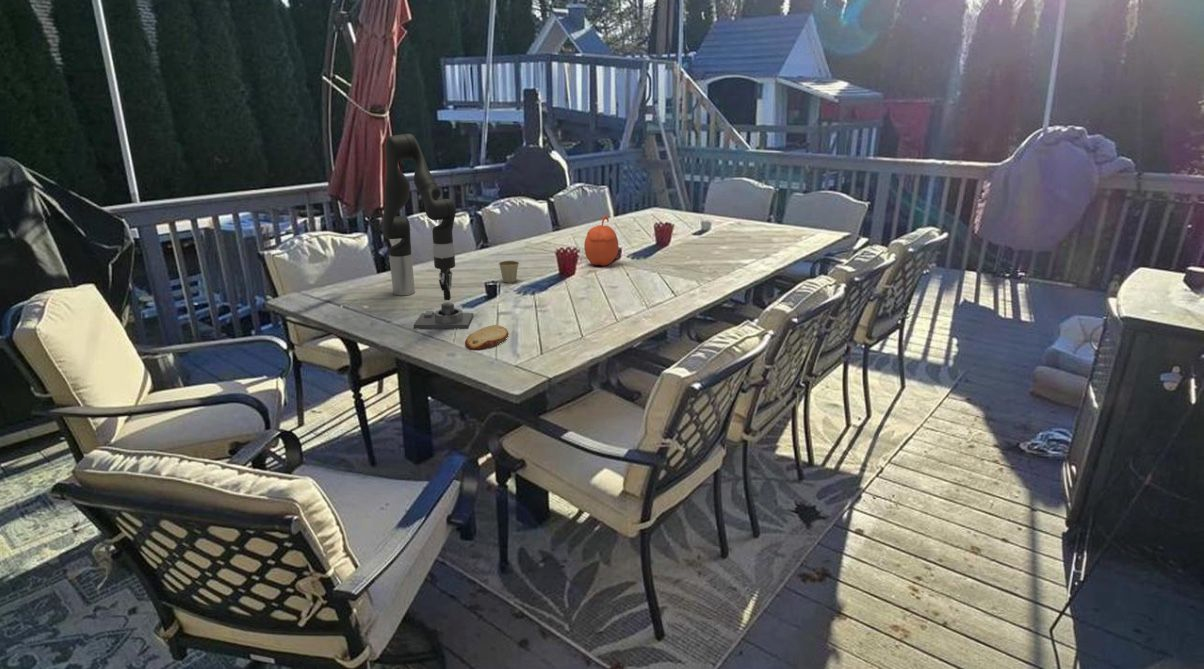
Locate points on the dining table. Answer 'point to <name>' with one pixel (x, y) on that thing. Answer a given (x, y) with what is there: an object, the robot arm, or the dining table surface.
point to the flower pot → (509, 270)
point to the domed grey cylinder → (447, 308)
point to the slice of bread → (486, 337)
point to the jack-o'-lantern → (601, 244)
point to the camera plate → (429, 322)
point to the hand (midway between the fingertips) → (447, 299)
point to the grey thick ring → (448, 317)
